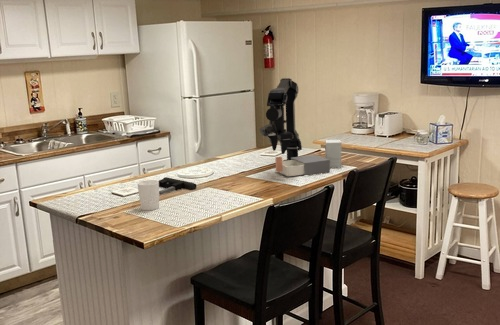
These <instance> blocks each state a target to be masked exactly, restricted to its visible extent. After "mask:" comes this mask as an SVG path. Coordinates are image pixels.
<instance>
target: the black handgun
mask: <svg viewBox="0 0 500 325" xmlns="http://www.w3.org/2000/svg"><path fill="white" fill-rule="evenodd" d="M158 181H159V188H164V189H162V190H159V196H162V195H165V194H169V193H171V192H175V191H180V190H183V189H187V190H196V189H197V184H196V183H194V182H191V181H188V180H187V181H186V180H183V179H178V178H177V179H176V178H172V177H167V176H166V177H163V178H161V179H159V180H158Z"/></svg>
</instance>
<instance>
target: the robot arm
mask: <svg viewBox="0 0 500 325" xmlns="http://www.w3.org/2000/svg"><path fill="white" fill-rule="evenodd" d="M298 94H299V85H298V83H297V82H295V81H293V80H292V78H288V77H287V78H286V77H284V78H280V81H279V83H278V84H277V86H276V88H275V87H274V88H272V89H271V90H270V91H269V92H268V96H267V102H266V107H269V108H268V109H267V110H266V113H265V117H266V119H267V120H268V121H269V124H266V125H263V126H261V127H260V128H259V132H260V135H261V136H263V137H266V138H268V140H269V142H270V145H271V147H272V151H276V150H277V147H278V142H279V143H280V151H281V154H282V155H284V154H286V159H284V160H283V161H289V160H291V157H299V151H301V150H303V149H302V148H303V146H302V141H301V139H300V136H299V133H298V132H297V130H296V109H295V101H296V99H297V98H298ZM285 124H286V129H285Z"/></svg>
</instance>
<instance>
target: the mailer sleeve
mask: <svg viewBox="0 0 500 325" xmlns="http://www.w3.org/2000/svg"><path fill="white" fill-rule="evenodd" d="M291 160H296V161H298V162H301V163H303V164H304V171H305V174H303V175H302V176H304V175H309V176H314V175H313V174H316V175H321V173H323V174H328V173H329V172H330V173H331V168H330V160H329V159H326V157H322V156H319V155H316V154H311V155H310V154H309V155H302V156H298V157H291Z"/></svg>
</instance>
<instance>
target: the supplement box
mask: <svg viewBox="0 0 500 325" xmlns="http://www.w3.org/2000/svg"><path fill="white" fill-rule="evenodd" d="M324 147H325V158H326V159H329V160H330V169H339V168H342V141H341V140H340V139H325V146H324Z"/></svg>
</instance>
